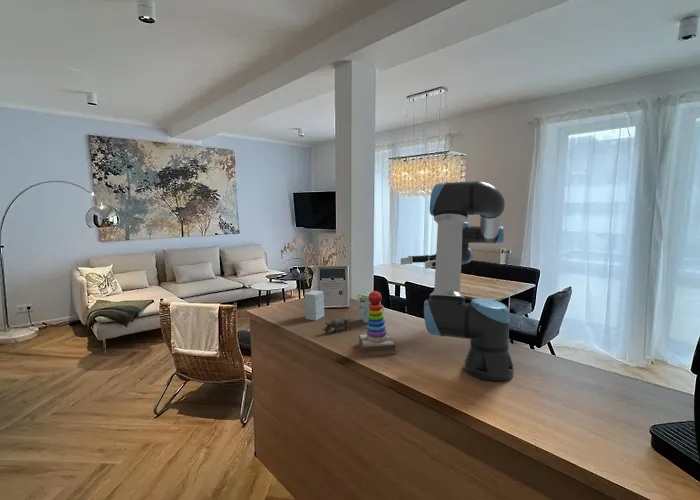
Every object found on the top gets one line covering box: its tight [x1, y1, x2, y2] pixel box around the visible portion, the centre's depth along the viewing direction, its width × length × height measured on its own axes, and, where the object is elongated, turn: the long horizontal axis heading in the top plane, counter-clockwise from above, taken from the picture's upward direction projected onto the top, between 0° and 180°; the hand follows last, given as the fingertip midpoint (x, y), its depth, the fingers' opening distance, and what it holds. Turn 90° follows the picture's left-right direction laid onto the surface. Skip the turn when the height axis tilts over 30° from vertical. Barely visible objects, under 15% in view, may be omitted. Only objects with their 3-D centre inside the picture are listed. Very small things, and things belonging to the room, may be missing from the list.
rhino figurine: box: [322, 316, 350, 334], centre depth 158 cm, size 4×14×6 cm, turn 121°
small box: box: [304, 289, 325, 321], centre depth 178 cm, size 8×6×13 cm
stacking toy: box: [366, 290, 387, 342], centre depth 136 cm, size 8×8×19 cm
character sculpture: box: [356, 291, 385, 324], centre depth 171 cm, size 20×12×13 cm, turn 34°
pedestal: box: [358, 332, 396, 357], centre depth 138 cm, size 12×12×4 cm
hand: (413, 263), depth 146 cm, fingers open, 13 cm apart
